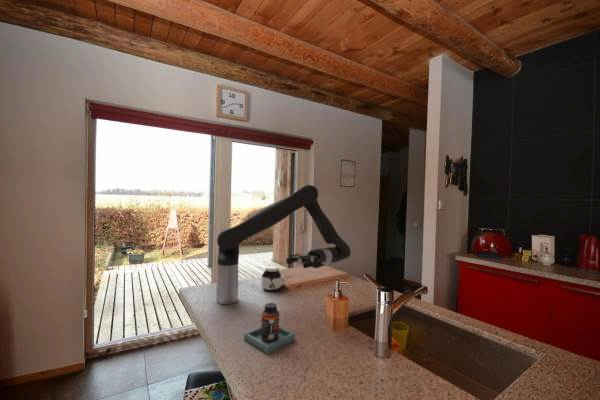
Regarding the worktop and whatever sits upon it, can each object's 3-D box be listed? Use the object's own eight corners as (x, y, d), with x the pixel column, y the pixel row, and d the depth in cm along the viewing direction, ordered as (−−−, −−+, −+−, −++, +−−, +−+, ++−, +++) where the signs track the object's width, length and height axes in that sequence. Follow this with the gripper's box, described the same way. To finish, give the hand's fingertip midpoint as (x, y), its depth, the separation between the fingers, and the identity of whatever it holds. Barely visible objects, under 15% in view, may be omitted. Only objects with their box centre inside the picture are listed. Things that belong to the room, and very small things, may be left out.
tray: (244, 340, 92) (244, 333, 92) (271, 328, 101) (271, 322, 101) (267, 354, 84) (267, 347, 84) (294, 340, 93) (294, 333, 93)
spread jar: (260, 291, 140) (260, 268, 140) (266, 284, 151) (266, 263, 151) (282, 292, 138) (283, 269, 138) (287, 285, 149) (288, 264, 149)
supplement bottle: (275, 343, 89) (276, 309, 89) (258, 341, 90) (259, 307, 90) (280, 335, 95) (281, 302, 95) (264, 332, 96) (265, 300, 96)
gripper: (307, 246, 122) (282, 250, 110) (334, 251, 113) (310, 256, 101) (306, 262, 122) (281, 269, 110) (333, 269, 113) (309, 277, 101)
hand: (295, 263), depth 105 cm, fingers open, 8 cm apart
